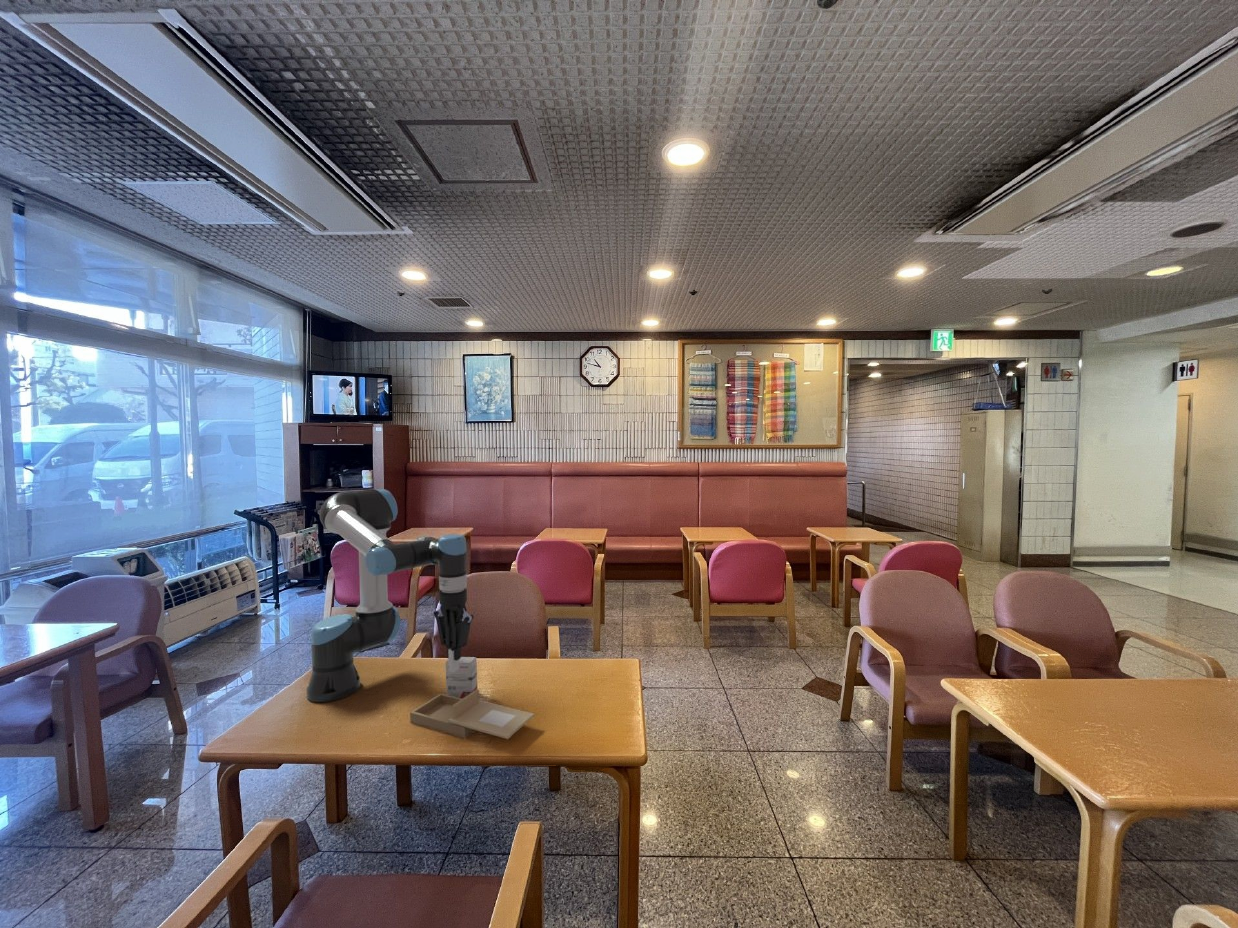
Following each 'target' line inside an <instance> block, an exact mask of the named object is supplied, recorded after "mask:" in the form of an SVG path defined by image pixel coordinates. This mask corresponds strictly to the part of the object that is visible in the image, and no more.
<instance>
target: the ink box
mask: <svg viewBox="0 0 1238 928" xmlns="http://www.w3.org/2000/svg"><path fill="white" fill-rule="evenodd" d="M477 665H478V663H477V657H476V656H475V657H474V656H472V657H471V656H461V658H460V659H459V669H458V670H456V671H455V672H449V659H448V660H447V661H446V662H445V684H446V685H445V686H446V689H445V690H446V695H450V696H454V697H458V698H462V699H463V698H464V697H466V696H467V695H469V694H470V693H472V692H473V691H475V690H478V672H477V671H478V666H477Z"/></svg>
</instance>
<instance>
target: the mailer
mask: <svg viewBox="0 0 1238 928" xmlns="http://www.w3.org/2000/svg"><path fill="white" fill-rule="evenodd" d="M461 699H462V698H458V697H454V696H450V695H447V693H446V694H445V693H438V695H435V696H434V697H432V698H431V699H429V700H428V701H425V703H423V704H421V705H419V706H418V707H416V708H415V709H413V710H412V711H410V712H409V717H410V718H409V720H410V722H409V723H410V724H414V725H417V726H420V727H424V728H426V729H431V730H433V731H438V732H441V733H445V734H447V735H450V736H454V737H457V738H460V739H464V740H466V739H467V738H468V737H469V736H471V735H472V734H473V733H475V732H476V731H477V730H474V729H470V728H467V727H463V726H460V725H456V724H453V723H449V722H448V720H449V719H450V718H452V705H454V704H455V703H457V702H458V701H460V700H461Z"/></svg>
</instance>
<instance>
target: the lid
mask: <svg viewBox="0 0 1238 928" xmlns="http://www.w3.org/2000/svg"><path fill="white" fill-rule="evenodd" d="M534 716H535V713H533V712H530V711H526V710H525V711H524V710H521V709H516V708H513V707H510V706H509V707H508V706H505V705H500V704H496V703H492V702H489V701H484V700H481V699H480V690H479V689H477V690H475V691H473V692H472V693H470V694H469V695H467V696H466V697H464V698H463V699H461V700H460V701H458V702H457V703H455V704H454V705H452V718H450V719H449V720H448V722H449V723H453V724H456V725H460V726H463V727H467V728H470V729H474V730H476V731H477V732H481V733H485V734H489V735H491V736H496V737H499V738H503V739H505V740H508V739H510V738H511V737H512V736H513V735H514V734H515V733H516V732H517V731H519V730H520V729H521V728H522V727H524V725H526V724H527V723H528V722H529V721H530V720H531V719H533V717H534Z"/></svg>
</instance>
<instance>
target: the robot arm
mask: <svg viewBox="0 0 1238 928" xmlns="http://www.w3.org/2000/svg"><path fill="white" fill-rule="evenodd" d="M398 509H399V508H398V504H397V501H396V499H395V497H394V496H393V494H392V493H391V492H390V491H389V490H387V489H382V488H379V489H378V488H377V489H376V488H372V489H363V490H352V491H350V490H349V491H340V492H337V493H334V494H332V495H331V496H329V497H328V498H327V499H325V501H324V502H323V503H322V505H321V508H320V509H319V520H320V522H321V524H322V526H323V527H324V528H325V529H326V530H327V531H329V532H330V533H332V534H336V535H337V534H338V535H339V536H341V538H343V539H344V540H345V541H346V542H348V543H349V544H350V546H352V547H353V548H355V549H356V550H357V551H358V564H359V565H358V566H359V567H358V570H359V571H358V572H359V598H360V599H359V600H360V601H359V604H358V605H357V607H356V608H355V616H353V615H350V614H347V613H345V614H344V613H341V614H339V615H337V614H335V615H331V616H329V617H325V618H324V619H321V620H320V621H318V622H317V623H315V624H314V626H313V627H312V628H311V635H310V636H311V638H310V644H311V646H310V647H311V668H312V669H311V670H312V671H311V676H310V678H309V681H308V686H307V688H306V698H307V700H308V701H310V702H311V703H327V702H334V701H337V700H340V699H344V698H346V697H348V696H351V695H352V694H354V693H355V692H357V691H358V690H359V689H360V687H361V678H360V675H359V672H358V670H357V668H356V666H355V662H354V654H356V653H359V652H363V651H365V650H369V649H371V648H375V647H377V646H382V645H385V644H387V643H389V642H391V641H393V640H395V639H396V637H397V636H398V634H399V632H400V630H401V616H400V615H399V614H400V612H399V610H398V609H397V608H396V607H395V606H394V605H393V603H392V602H391V601H390V600H388V599H389V596H388V595H389V593H388V590H389V589H388V575H390V574H392V573H396V572H397V573H398V572H401V571H406V570H411V569H416V568H421V567H424V566H426V567H427V566H430V565H432V566H433V565H434V566H437V567H438V589H439V590H440V591H439V592H438V596H439V597H438V598H439V600H438V601H439V602H438V603H439V605H440V607H439V609H438V610H435V611H433V616H434V618H435V619H436V625H437V626H436V627H437V630H438V631H437V632H438V635H439V636H438V637H439V641H440V645H441V646H445V648H446V657H447V659H448V660H449V672H455V671H456V670H458V669H459V659H460V658H461V657H462V649H463V648H464V647H467V644H468V640H469V634H470V629H471V625H472V621H473V620H474V617H475V616H474V615H473V614H469V613H468V612H467V611H468V610H467V607H466V603H467V600H468V591H467V586H468V584H467V582H468V580H467V579H468V577H467V576H468V574H467V555H468V554H467V551H468V549H467V541H466V540H467V539H466V537H465V536H464V535H463V534H460V533H458V534H457V533H456V534H455V533H451V534H450V533H449V534H443V535H441V536H439V537H438V538H436V537H432V536H423V537H419V538H418V539H416V540H414V541H407V542H403V543H395V542H394V541H392V540H391V539H389V538H388V537H387V532H388V531H389V530H390V529H391V527H392V525H391V522H393V521H395V520H396V519H397V516H398V512H399V511H398Z"/></svg>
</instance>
